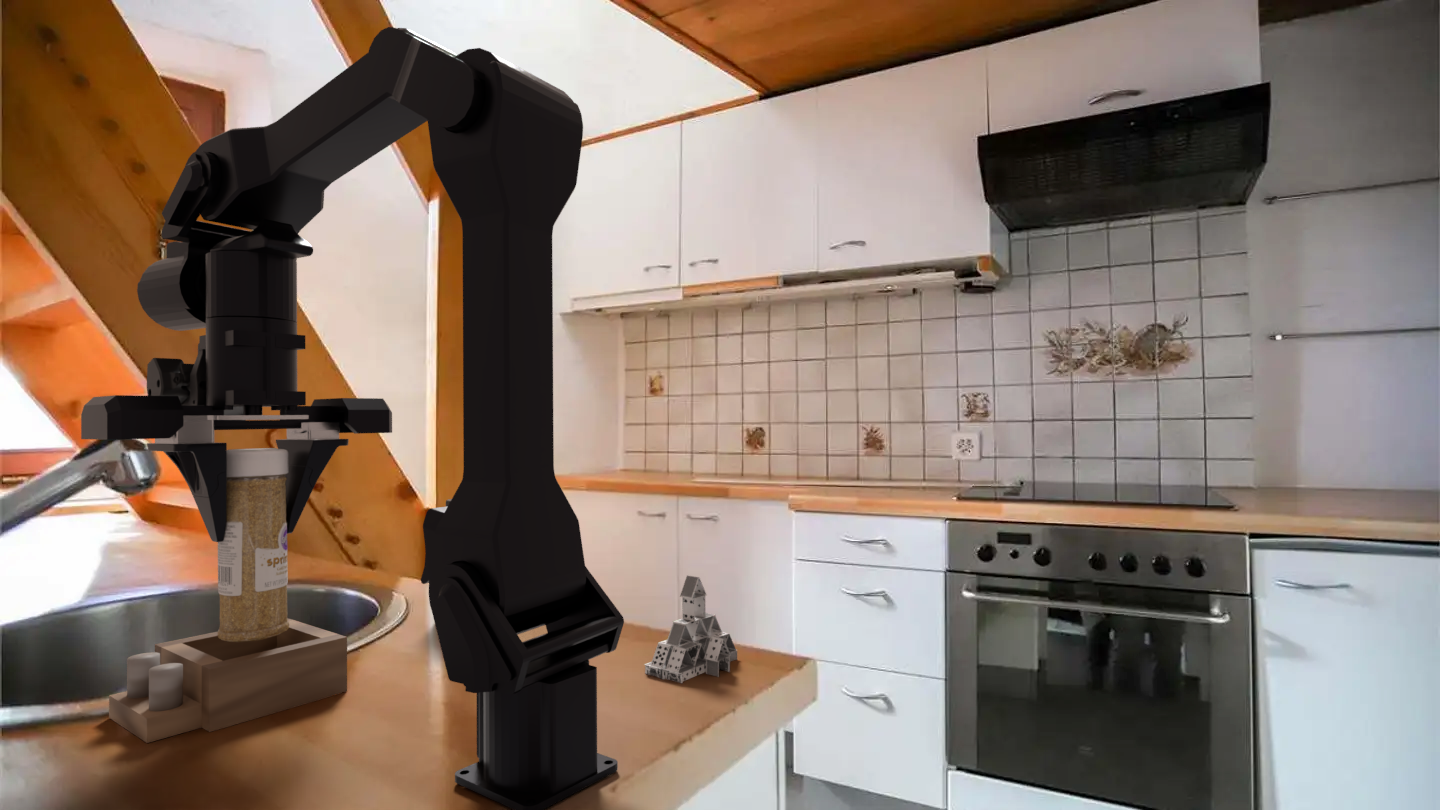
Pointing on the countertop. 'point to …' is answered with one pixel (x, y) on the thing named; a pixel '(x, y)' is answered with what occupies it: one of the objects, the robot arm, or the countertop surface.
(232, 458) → the sprinkles bottle
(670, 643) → the house of cards
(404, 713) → the countertop surface
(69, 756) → the countertop surface
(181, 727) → the slot block
